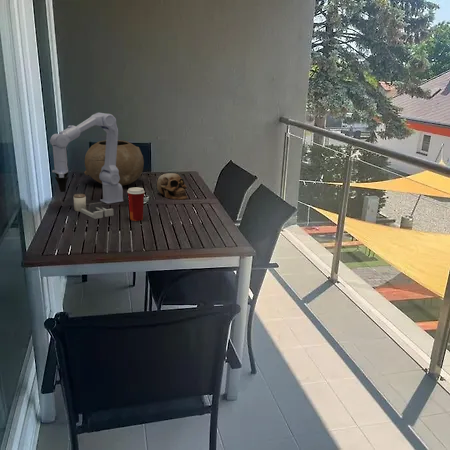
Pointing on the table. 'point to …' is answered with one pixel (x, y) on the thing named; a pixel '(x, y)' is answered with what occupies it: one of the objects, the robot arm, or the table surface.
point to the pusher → (95, 207)
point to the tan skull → (172, 186)
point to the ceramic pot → (125, 161)
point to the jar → (79, 202)
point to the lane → (98, 213)
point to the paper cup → (136, 203)
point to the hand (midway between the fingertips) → (62, 189)
